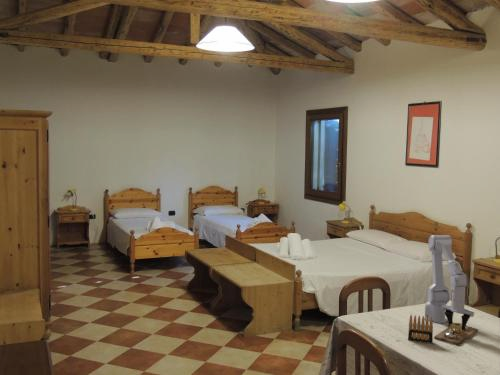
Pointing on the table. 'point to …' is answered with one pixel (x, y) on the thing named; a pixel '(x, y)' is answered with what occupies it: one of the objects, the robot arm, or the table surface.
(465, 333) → the gear board
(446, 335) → the mounted gears
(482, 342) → the table surface
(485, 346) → the table surface
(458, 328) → the wooden gear
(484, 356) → the table surface
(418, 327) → the ammunition clip
